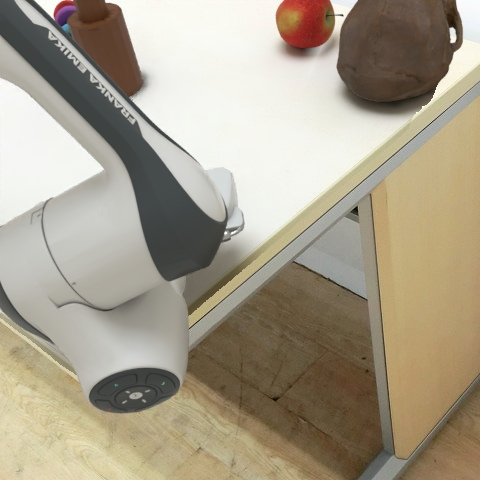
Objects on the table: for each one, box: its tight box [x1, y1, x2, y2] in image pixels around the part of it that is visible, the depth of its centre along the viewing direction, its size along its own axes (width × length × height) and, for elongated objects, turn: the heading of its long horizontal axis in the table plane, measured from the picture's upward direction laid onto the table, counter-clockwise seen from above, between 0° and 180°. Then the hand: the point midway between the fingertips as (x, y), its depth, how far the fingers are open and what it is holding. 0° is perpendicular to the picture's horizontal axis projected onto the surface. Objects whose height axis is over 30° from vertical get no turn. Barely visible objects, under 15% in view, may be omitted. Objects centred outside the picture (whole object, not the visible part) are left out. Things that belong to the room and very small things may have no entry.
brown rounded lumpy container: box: [336, 0, 464, 103], centre depth 101 cm, size 19×20×13 cm
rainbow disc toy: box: [52, 0, 77, 37], centre depth 118 cm, size 8×10×7 cm
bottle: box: [67, 0, 144, 97], centre depth 105 cm, size 7×7×15 cm
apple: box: [275, 0, 344, 49], centre depth 110 cm, size 8×8×10 cm
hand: (136, 168), depth 82 cm, fingers closed on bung, 4 cm apart
